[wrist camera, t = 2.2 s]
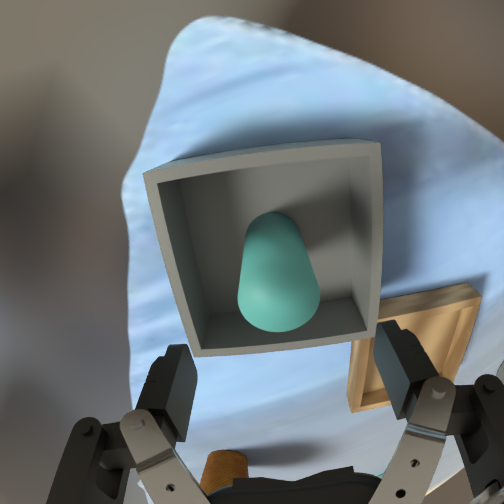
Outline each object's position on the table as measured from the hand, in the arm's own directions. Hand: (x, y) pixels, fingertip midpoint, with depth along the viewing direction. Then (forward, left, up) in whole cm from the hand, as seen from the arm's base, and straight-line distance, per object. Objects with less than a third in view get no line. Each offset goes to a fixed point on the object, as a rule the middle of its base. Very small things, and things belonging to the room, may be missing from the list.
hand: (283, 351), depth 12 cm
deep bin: (0, 0, -14) cm, 14 cm away
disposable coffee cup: (+11, +37, -14) cm, 41 cm away
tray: (-14, +15, -14) cm, 25 cm away
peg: (0, 0, -13) cm, 13 cm away
